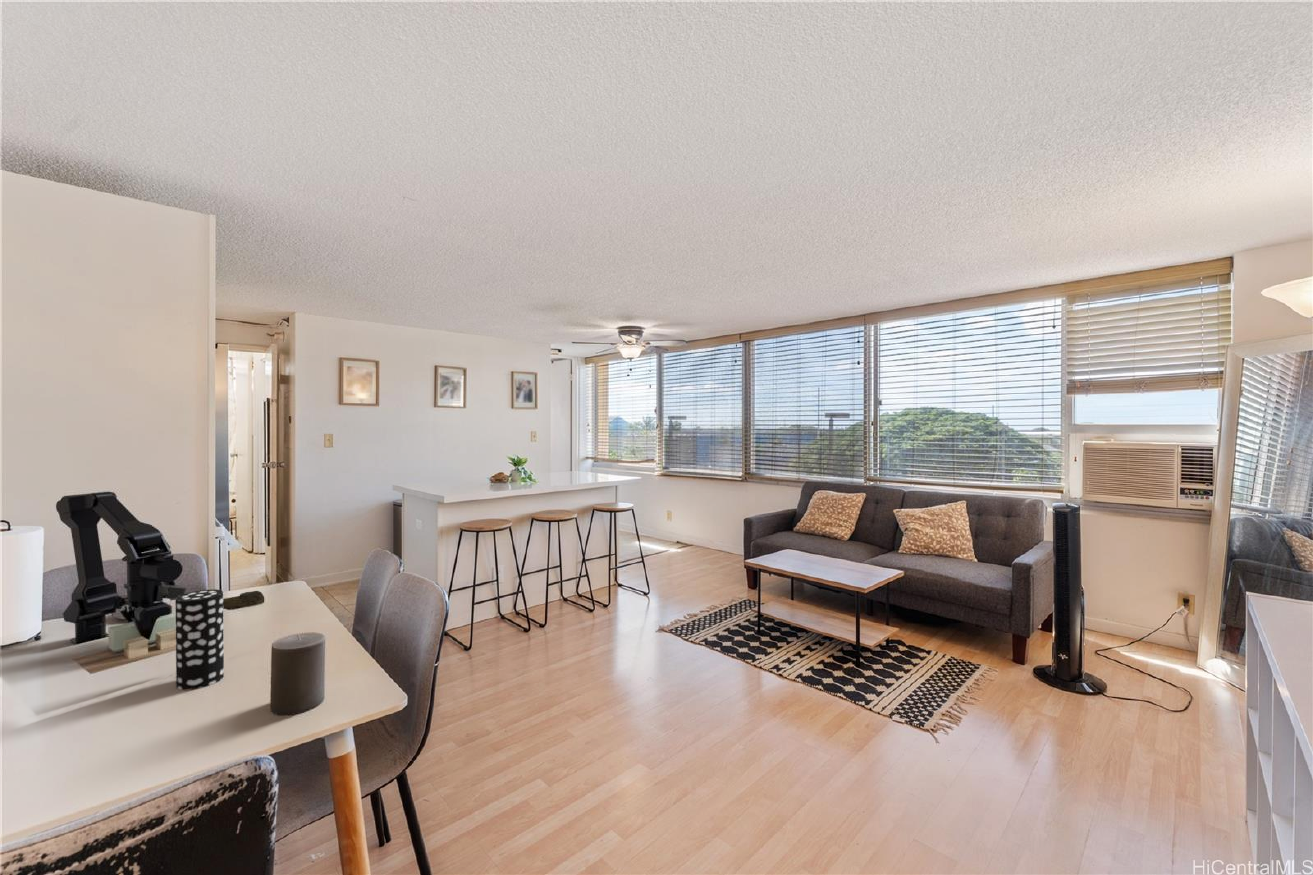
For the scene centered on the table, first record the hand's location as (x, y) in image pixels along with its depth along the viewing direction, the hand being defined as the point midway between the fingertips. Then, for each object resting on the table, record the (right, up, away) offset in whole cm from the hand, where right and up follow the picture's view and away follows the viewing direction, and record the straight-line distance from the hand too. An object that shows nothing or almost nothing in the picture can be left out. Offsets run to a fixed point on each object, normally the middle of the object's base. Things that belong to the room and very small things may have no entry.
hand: (143, 638), depth 139 cm
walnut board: (+3, -3, -2) cm, 5 cm away
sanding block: (0, -1, 0) cm, 1 cm away
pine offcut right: (+7, -2, 0) cm, 7 cm away
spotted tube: (+28, -4, -15) cm, 32 cm away
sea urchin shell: (-24, -2, +25) cm, 34 cm away
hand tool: (-3, -3, +31) cm, 31 cm away
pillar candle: (+56, -5, -24) cm, 62 cm away
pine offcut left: (+4, -2, -6) cm, 7 cm away
